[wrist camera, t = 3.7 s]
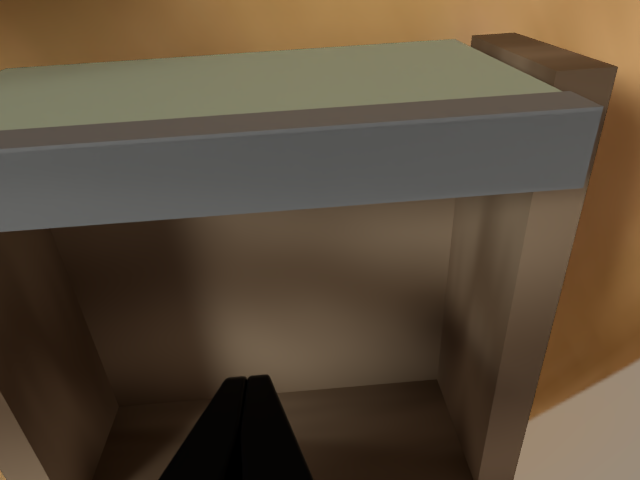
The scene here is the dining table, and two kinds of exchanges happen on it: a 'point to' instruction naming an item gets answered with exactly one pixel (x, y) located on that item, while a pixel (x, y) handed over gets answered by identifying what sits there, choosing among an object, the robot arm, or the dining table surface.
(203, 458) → the robot arm
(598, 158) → the dining table surface
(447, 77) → the green grey flat panel
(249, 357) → the brown hollow box
